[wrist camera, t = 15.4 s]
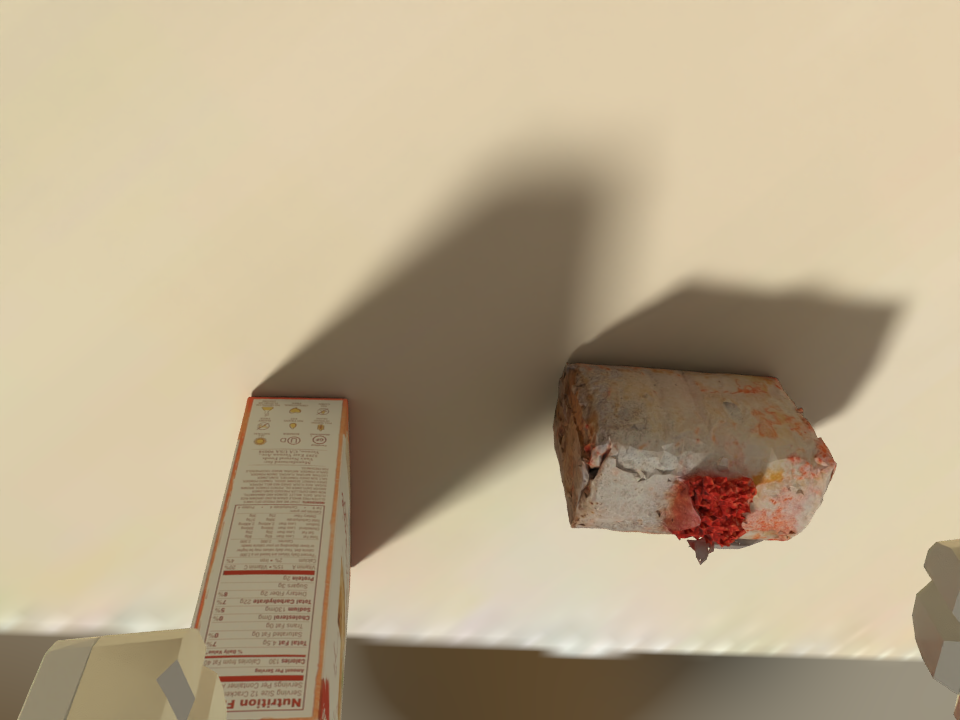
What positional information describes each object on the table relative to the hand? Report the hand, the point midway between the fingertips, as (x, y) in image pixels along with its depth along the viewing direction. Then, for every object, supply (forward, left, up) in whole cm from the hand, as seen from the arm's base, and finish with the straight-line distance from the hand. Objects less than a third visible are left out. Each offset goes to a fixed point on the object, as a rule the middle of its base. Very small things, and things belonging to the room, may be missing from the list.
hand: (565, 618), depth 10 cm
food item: (+10, -24, -34) cm, 43 cm away
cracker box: (-12, -27, -34) cm, 45 cm away
